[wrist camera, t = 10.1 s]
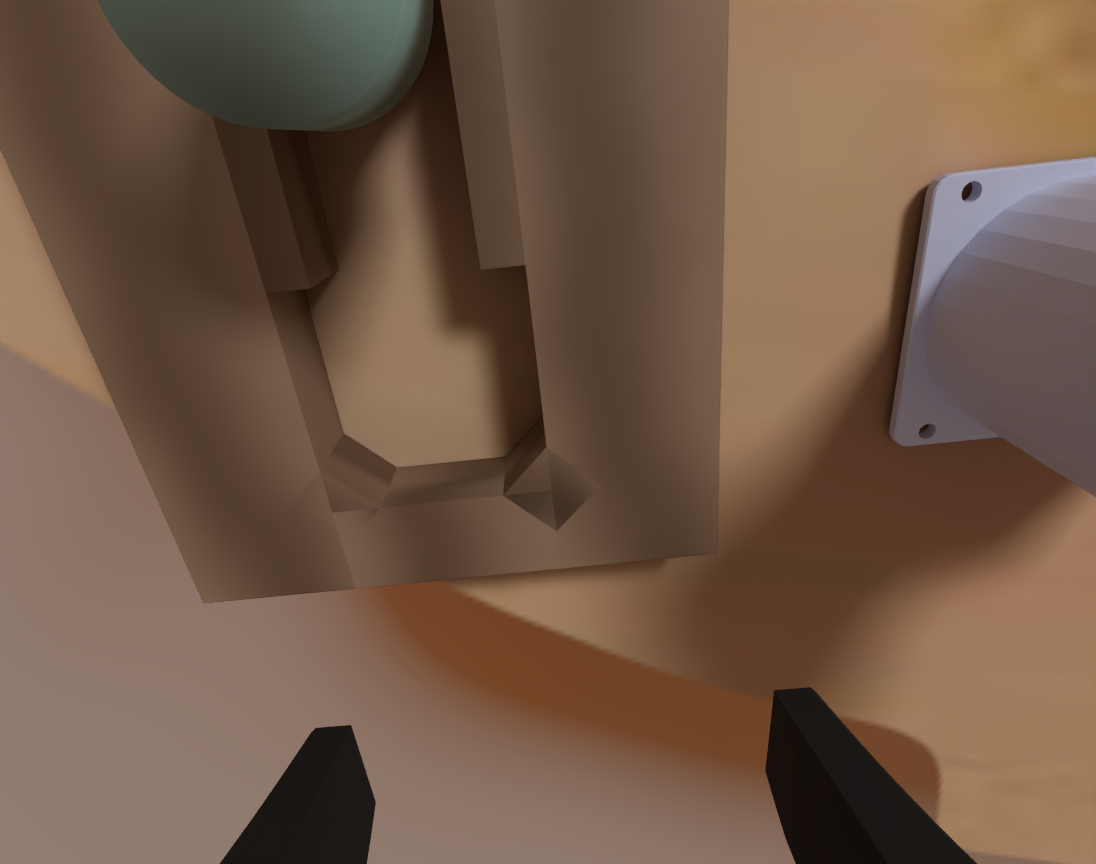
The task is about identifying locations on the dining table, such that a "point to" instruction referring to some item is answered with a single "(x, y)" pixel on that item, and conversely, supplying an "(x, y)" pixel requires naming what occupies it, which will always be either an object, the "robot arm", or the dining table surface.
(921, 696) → the dining table surface
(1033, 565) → the dining table surface
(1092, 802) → the dining table surface
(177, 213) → the keyhole board
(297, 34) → the peg
